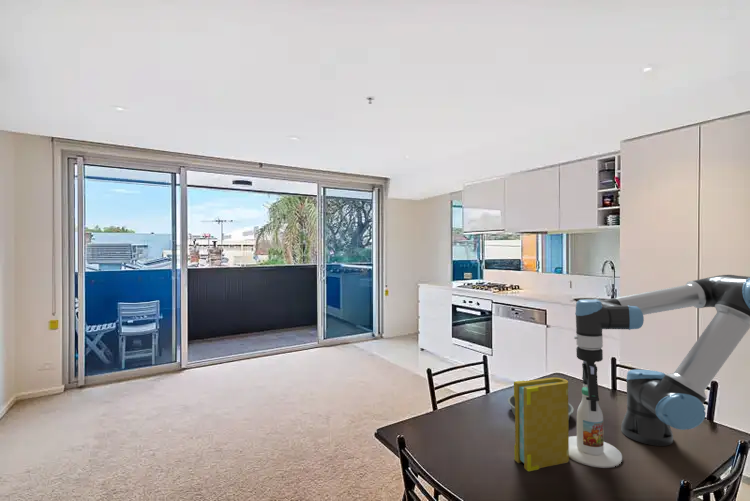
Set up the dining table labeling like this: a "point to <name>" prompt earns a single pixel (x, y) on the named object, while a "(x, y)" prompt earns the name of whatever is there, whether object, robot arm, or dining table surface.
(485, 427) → the dining table surface
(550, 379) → the book
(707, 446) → the dining table surface
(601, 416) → the milk bottle
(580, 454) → the white round plate
